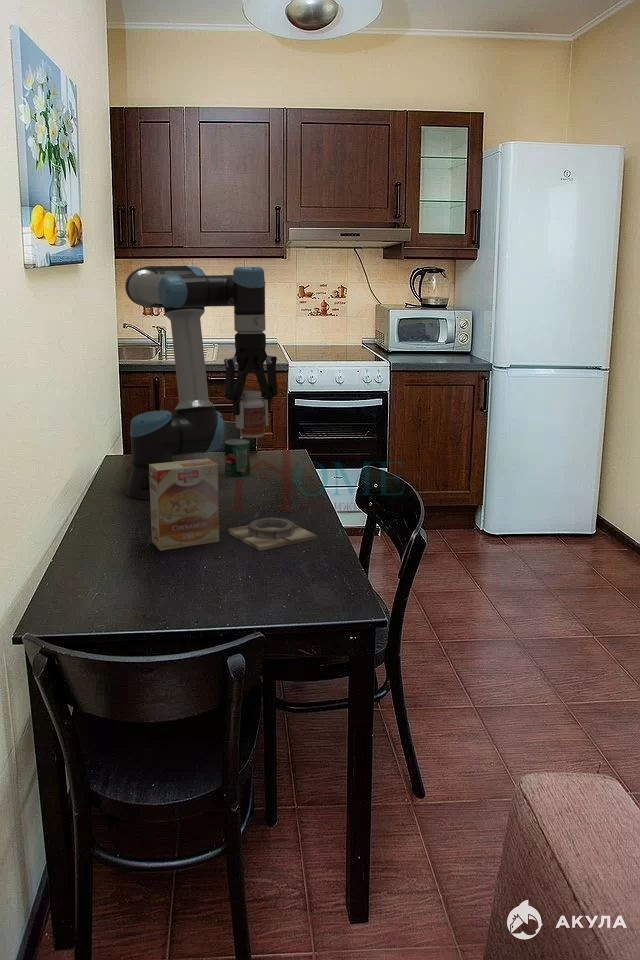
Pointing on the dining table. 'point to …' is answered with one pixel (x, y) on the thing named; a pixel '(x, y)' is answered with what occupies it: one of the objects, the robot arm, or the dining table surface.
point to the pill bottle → (253, 415)
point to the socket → (271, 533)
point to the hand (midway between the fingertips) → (252, 426)
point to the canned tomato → (237, 458)
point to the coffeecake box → (184, 503)
